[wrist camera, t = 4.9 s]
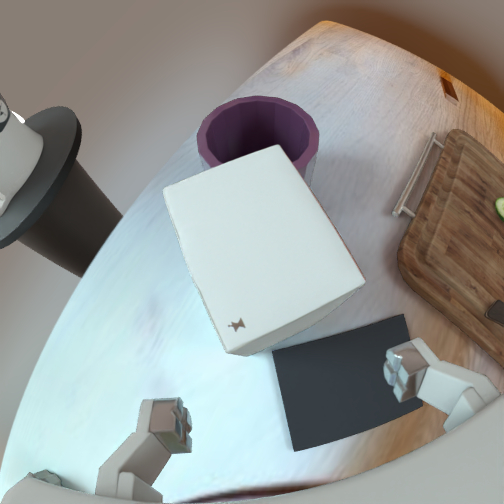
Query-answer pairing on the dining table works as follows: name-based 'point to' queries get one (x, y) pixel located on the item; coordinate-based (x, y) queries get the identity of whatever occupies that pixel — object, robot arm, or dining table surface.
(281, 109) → the plum cup
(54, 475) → the egg carton
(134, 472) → the robot arm
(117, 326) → the dining table surface
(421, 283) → the chopping board
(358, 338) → the coaster pad
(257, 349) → the small box
